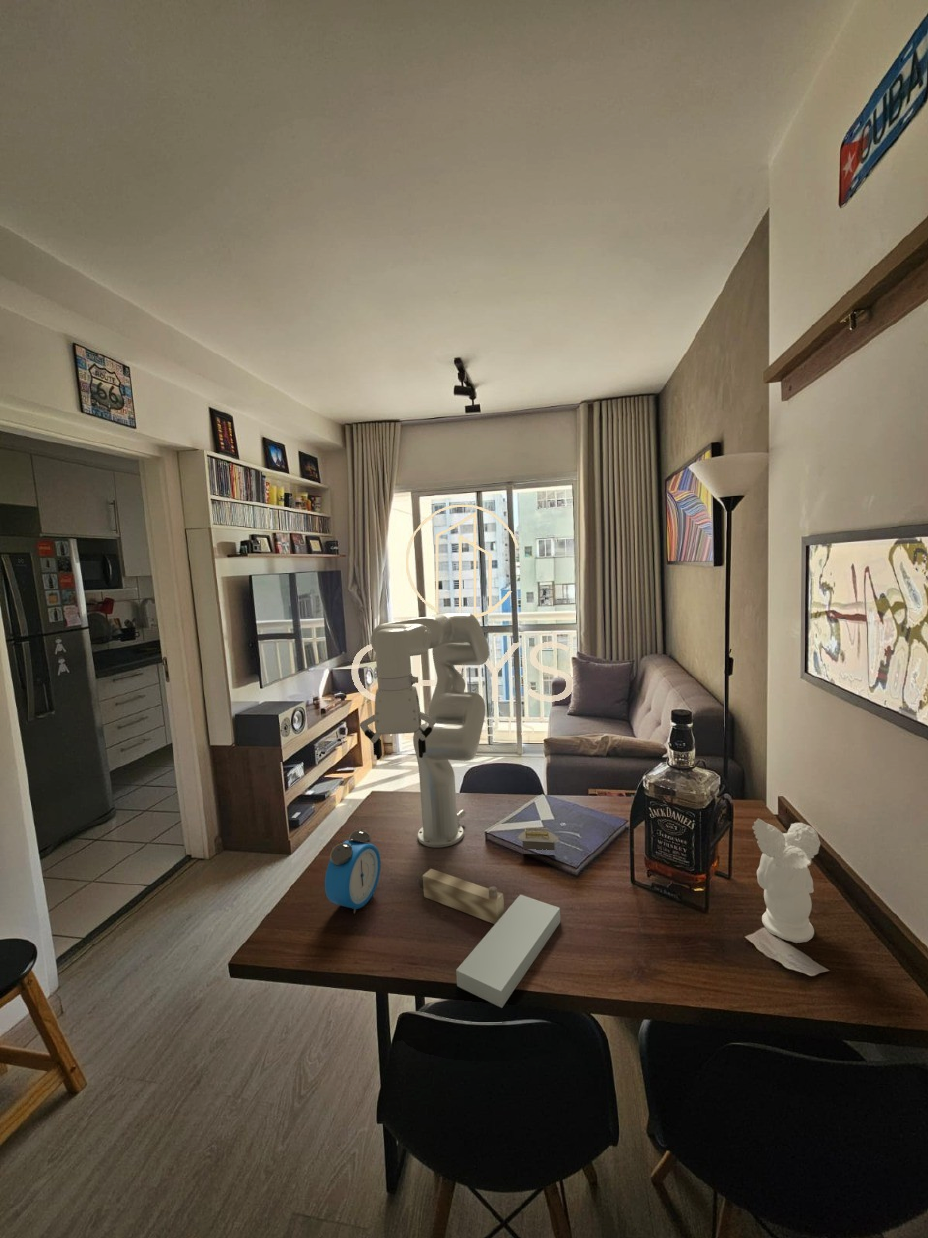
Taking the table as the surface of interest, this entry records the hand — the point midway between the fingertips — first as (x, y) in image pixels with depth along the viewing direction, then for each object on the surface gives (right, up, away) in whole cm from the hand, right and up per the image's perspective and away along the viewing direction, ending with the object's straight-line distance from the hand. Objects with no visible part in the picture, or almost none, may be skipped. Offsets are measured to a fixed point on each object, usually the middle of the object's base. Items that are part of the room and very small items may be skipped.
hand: (400, 756), depth 118 cm
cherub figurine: (+77, -29, -20) cm, 84 cm away
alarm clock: (-10, -32, -3) cm, 33 cm away
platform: (+34, -28, +13) cm, 46 cm away
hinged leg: (+14, -30, -7) cm, 34 cm away
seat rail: (+24, -31, -20) cm, 44 cm away
